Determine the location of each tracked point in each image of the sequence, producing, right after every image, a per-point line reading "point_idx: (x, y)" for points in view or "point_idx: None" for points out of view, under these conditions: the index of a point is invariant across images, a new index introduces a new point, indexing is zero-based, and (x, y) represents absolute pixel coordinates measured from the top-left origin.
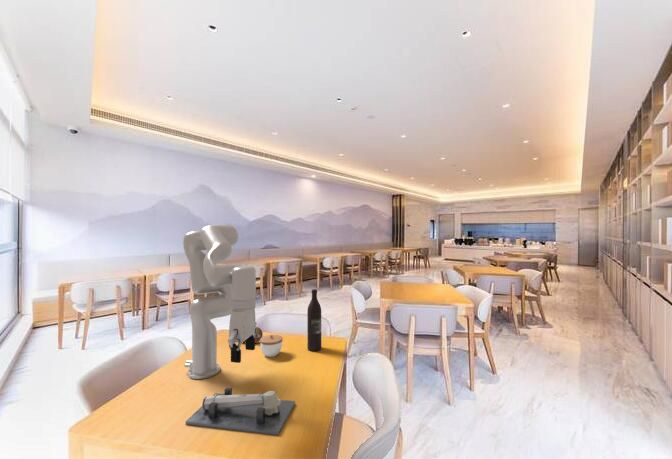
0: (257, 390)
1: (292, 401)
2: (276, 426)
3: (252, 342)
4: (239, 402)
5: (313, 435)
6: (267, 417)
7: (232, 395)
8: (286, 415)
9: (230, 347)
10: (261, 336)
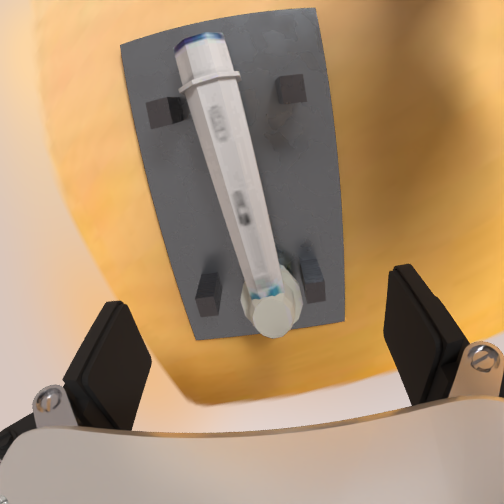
0: (399, 154)
1: (341, 315)
2: (213, 328)
3: (406, 379)
4: (220, 204)
5: (231, 389)
6: (239, 289)
7: (234, 158)
8: None
9: (14, 433)
10: None
